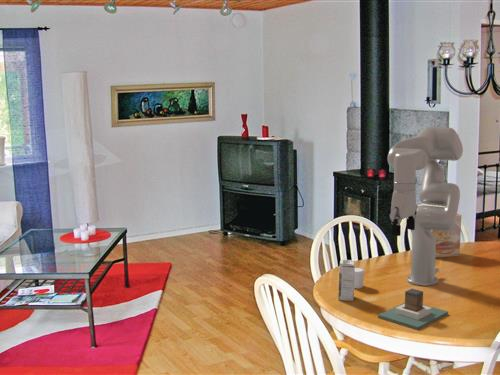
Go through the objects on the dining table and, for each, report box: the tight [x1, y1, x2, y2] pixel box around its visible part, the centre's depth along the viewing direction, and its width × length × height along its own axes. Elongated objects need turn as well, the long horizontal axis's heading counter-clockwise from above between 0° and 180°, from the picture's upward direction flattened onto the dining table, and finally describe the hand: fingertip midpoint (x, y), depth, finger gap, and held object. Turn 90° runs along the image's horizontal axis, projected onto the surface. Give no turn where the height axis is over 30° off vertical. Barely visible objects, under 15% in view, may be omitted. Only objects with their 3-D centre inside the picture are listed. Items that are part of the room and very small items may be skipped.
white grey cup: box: [354, 266, 366, 289], centre depth 269 cm, size 7×7×7 cm
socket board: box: [377, 302, 449, 331], centre depth 237 cm, size 20×16×3 cm
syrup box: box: [337, 259, 356, 302], centre depth 254 cm, size 6×6×14 cm
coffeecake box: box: [431, 213, 463, 258], centre depth 310 cm, size 15×7×20 cm, turn 104°
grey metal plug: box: [404, 288, 424, 312], centre depth 236 cm, size 4×4×8 cm
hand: (403, 232), depth 245 cm, fingers open, 9 cm apart
